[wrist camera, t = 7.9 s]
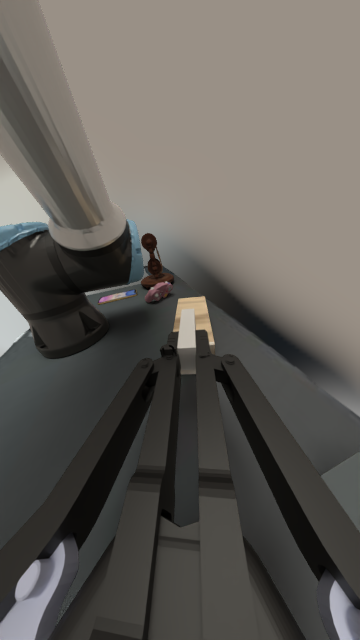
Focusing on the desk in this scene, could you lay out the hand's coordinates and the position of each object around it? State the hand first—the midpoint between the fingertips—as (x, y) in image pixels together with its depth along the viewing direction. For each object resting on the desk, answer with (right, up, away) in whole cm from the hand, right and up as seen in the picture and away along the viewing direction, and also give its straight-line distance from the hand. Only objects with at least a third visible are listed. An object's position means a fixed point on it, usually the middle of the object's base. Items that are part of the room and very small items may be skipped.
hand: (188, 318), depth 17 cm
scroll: (-11, +16, +47) cm, 51 cm away
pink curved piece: (-8, +7, +33) cm, 34 cm away
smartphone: (-26, +9, +40) cm, 49 cm away
